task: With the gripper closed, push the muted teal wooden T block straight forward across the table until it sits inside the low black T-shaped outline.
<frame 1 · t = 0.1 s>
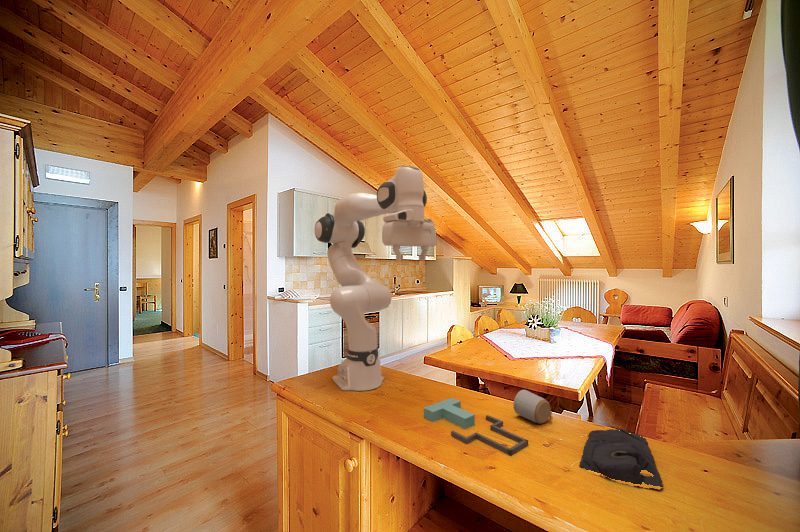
hand: (411, 260, 108), 48 cm above the counter, tool pointing down, fingers open, 8 cm apart
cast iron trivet: (619, 460, 80), on the counter
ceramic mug: (534, 418, 101), on the counter
teal T block: (453, 419, 101), on the counter
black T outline: (492, 437, 90), on the counter
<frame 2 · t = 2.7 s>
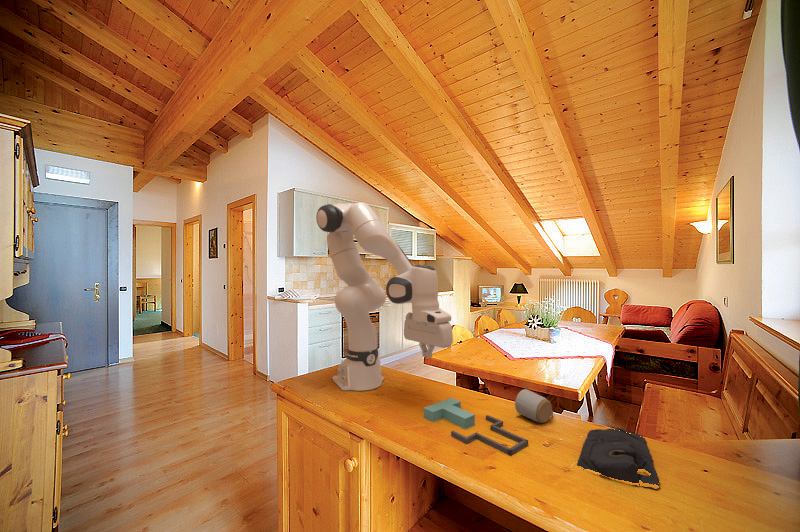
hand: (427, 356, 110), 16 cm above the counter, tool pointing down, fingers closed
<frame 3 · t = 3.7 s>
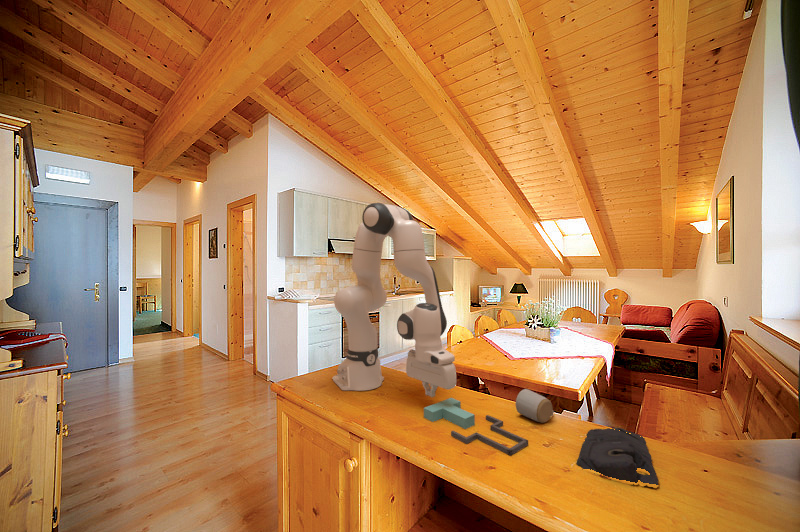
hand: (430, 395, 111), 4 cm above the counter, tool pointing down, fingers closed
nothing on the counter moved.
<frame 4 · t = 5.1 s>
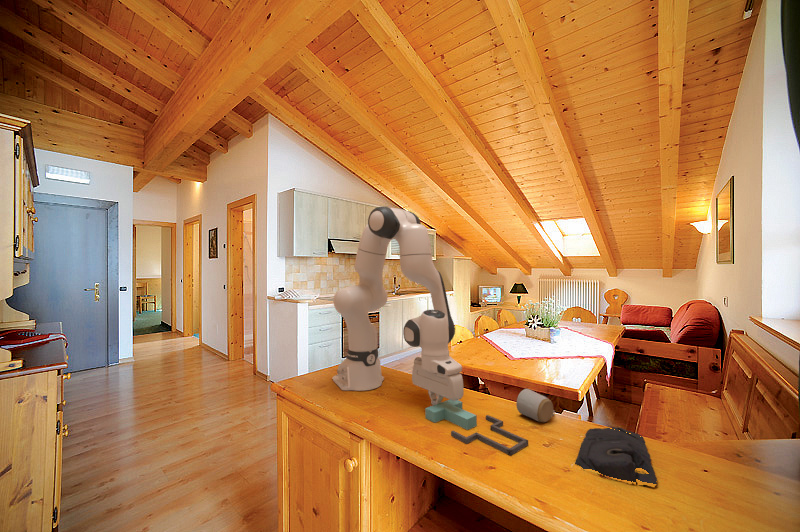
hand: (436, 405, 107), 2 cm above the counter, tool pointing down, fingers closed
teal T block: (455, 419, 101), on the counter, touching gripper
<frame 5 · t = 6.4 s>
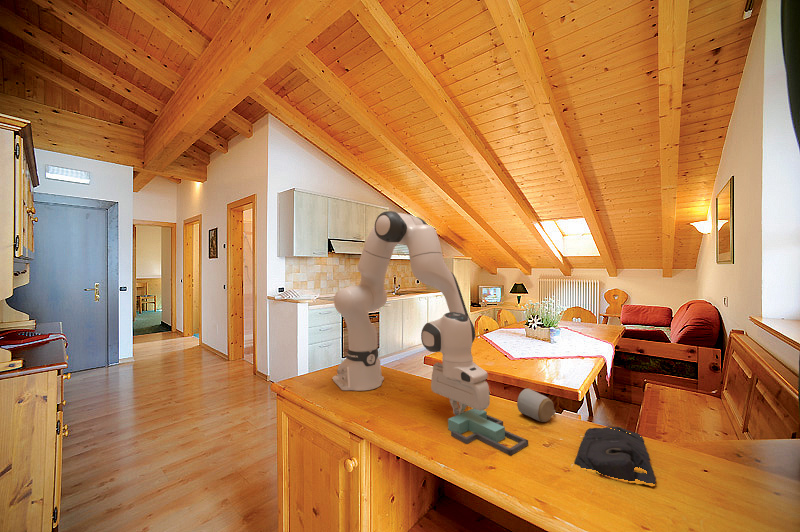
hand: (458, 415, 100), 2 cm above the counter, tool pointing down, fingers closed
teal T block: (480, 431, 93), on the counter, touching gripper
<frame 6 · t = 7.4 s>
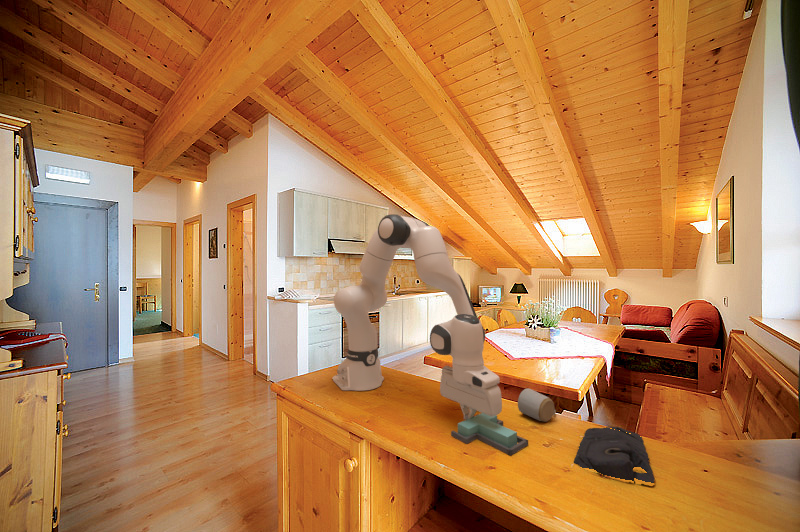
hand: (468, 420, 97), 2 cm above the counter, tool pointing down, fingers closed
teal T block: (491, 436, 91), on the counter, touching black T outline, gripper
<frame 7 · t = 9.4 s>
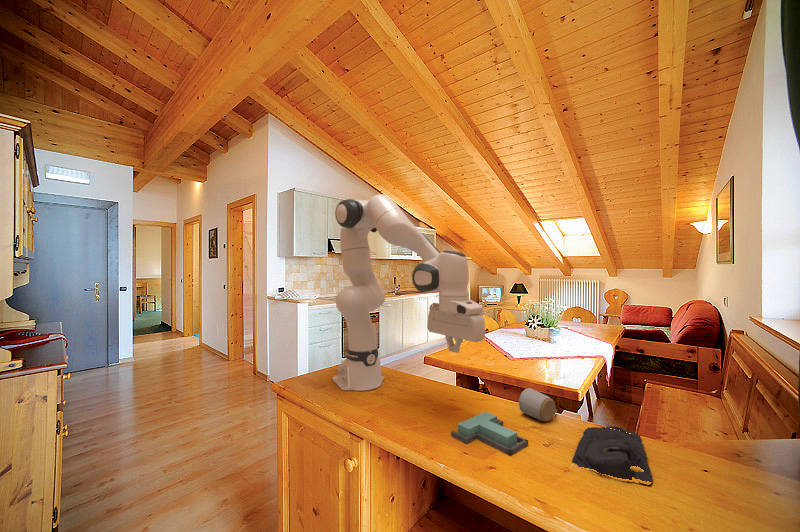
hand: (454, 351, 101), 20 cm above the counter, tool pointing down, fingers closed
teal T block: (491, 436, 91), on the counter
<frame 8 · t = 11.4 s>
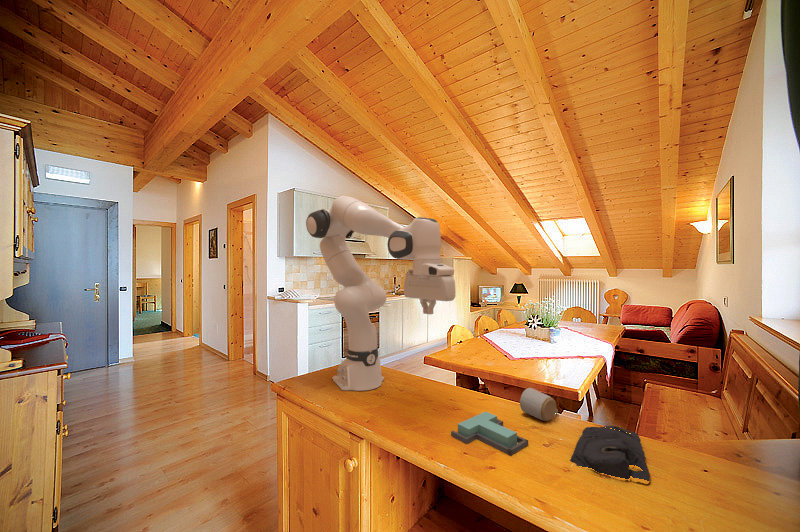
hand: (428, 313, 105), 31 cm above the counter, tool pointing down, fingers closed
at the end: teal T block 0.3 cm off-centre on the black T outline, point 0.0 cm above the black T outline's base; teal T block tilted 0°; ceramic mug moved 3.0 cm from its start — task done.
